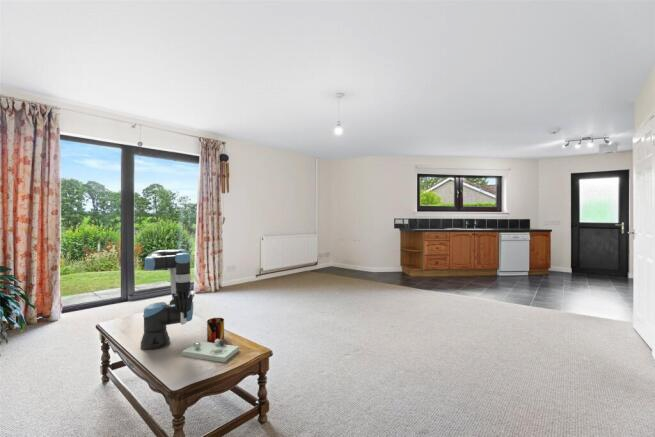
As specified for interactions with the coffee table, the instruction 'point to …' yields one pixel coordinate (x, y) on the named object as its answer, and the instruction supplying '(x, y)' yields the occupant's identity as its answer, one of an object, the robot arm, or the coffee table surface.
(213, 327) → the mug
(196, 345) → the steel ball
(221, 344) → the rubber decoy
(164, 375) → the coffee table surface
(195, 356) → the board
